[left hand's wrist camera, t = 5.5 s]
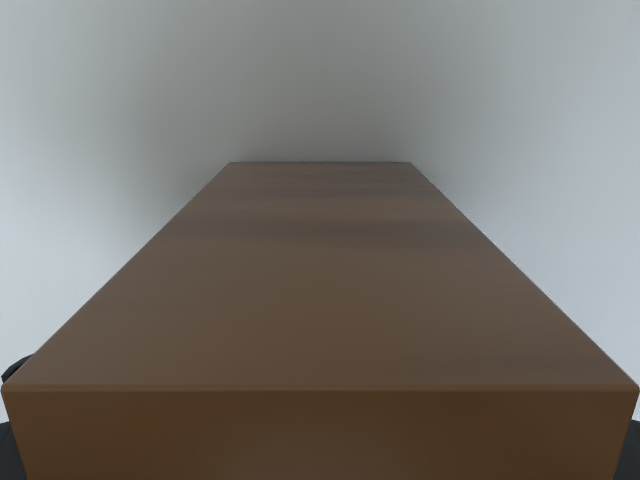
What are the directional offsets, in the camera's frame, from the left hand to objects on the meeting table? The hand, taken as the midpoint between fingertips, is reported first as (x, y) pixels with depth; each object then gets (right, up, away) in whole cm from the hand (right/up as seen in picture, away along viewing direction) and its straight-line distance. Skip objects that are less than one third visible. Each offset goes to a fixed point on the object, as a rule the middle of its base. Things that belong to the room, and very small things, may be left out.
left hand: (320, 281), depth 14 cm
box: (0, -7, +4) cm, 8 cm away
